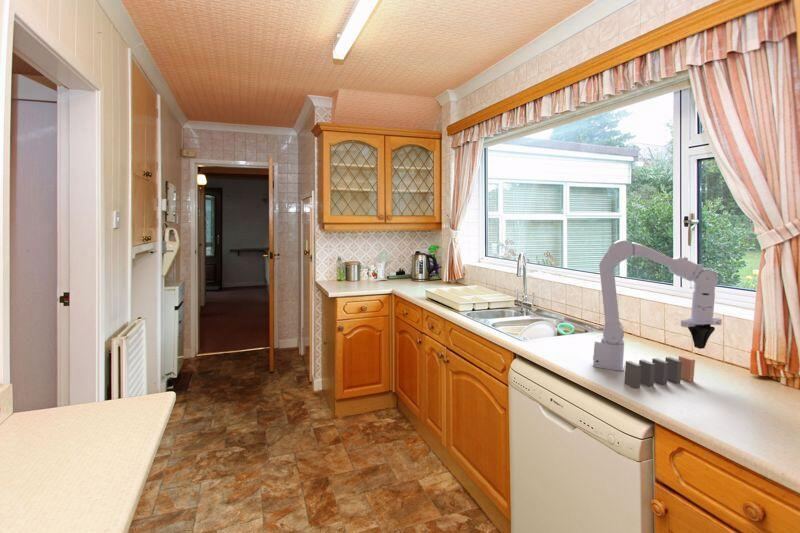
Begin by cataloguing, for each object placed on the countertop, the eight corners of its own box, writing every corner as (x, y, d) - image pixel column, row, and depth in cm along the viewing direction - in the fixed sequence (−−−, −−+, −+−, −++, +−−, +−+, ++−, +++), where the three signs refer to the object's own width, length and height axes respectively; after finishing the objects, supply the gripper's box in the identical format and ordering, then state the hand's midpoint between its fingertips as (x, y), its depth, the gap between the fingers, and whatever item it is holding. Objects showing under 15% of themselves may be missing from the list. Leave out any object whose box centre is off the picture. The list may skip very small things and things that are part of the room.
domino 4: (676, 383, 136) (677, 361, 136) (664, 378, 140) (665, 357, 140) (680, 382, 137) (681, 361, 136) (668, 378, 141) (669, 356, 140)
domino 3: (662, 385, 135) (664, 363, 134) (651, 379, 139) (652, 358, 138) (666, 384, 135) (668, 362, 135) (655, 379, 140) (656, 358, 139)
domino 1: (635, 388, 132) (636, 365, 131) (624, 383, 136) (625, 361, 136) (639, 387, 132) (641, 365, 132) (628, 382, 137) (629, 360, 136)
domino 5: (689, 381, 138) (691, 360, 137) (677, 377, 142) (678, 356, 141) (693, 381, 138) (695, 359, 137) (681, 376, 142) (682, 355, 142)
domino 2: (649, 386, 133) (650, 364, 133) (638, 381, 138) (639, 359, 137) (653, 386, 134) (655, 363, 133) (642, 381, 138) (643, 359, 137)
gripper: (696, 309, 133) (693, 353, 135) (732, 307, 137) (728, 349, 138) (676, 305, 140) (673, 346, 141) (711, 303, 144) (707, 343, 145)
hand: (699, 347), depth 140 cm, fingers closed
